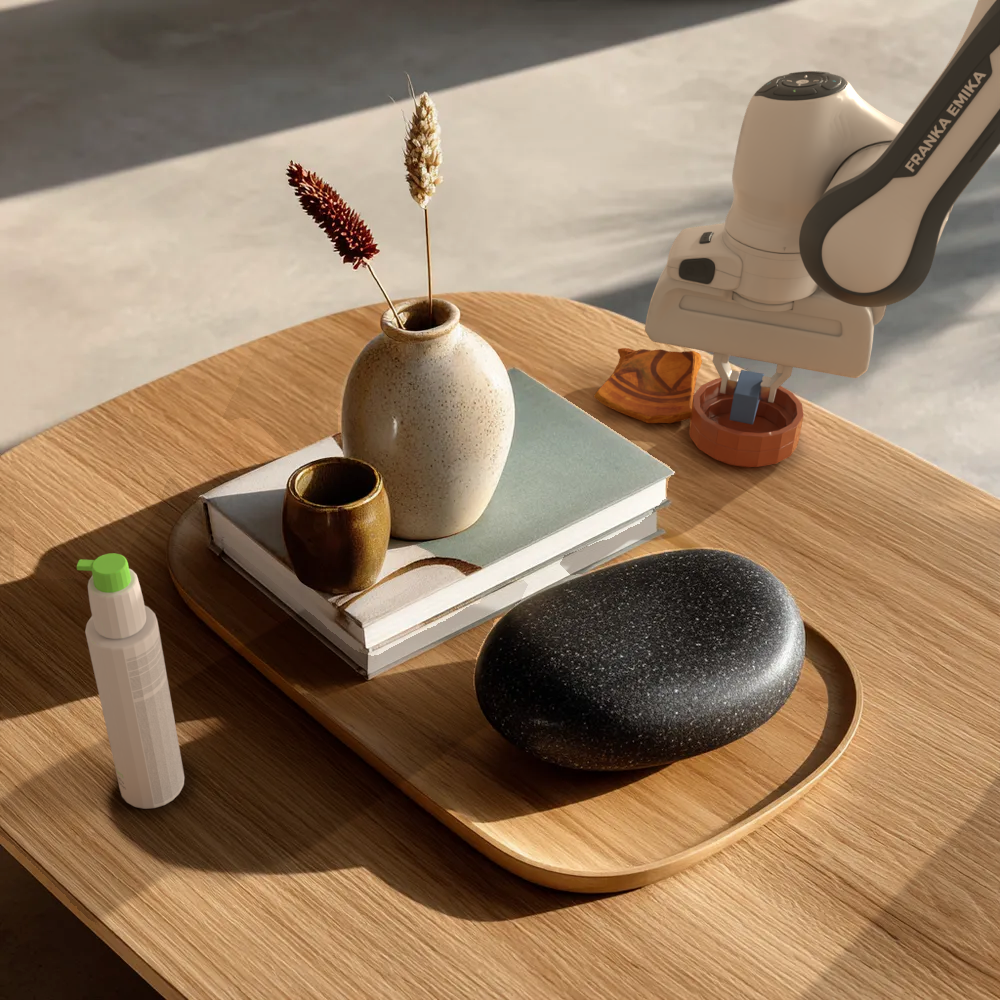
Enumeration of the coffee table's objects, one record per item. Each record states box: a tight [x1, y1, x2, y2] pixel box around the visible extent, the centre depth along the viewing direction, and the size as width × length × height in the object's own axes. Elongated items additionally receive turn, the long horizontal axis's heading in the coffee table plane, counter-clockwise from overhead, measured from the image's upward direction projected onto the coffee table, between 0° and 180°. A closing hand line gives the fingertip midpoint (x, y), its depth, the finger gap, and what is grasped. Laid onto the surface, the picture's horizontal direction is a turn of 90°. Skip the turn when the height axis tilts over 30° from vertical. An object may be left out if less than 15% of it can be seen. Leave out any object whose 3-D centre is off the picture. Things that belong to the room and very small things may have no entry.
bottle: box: [76, 552, 185, 810], centre depth 86 cm, size 4×4×20 cm
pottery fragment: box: [593, 347, 703, 424], centre depth 132 cm, size 10×5×10 cm
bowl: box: [688, 377, 805, 468], centre depth 126 cm, size 10×10×4 cm
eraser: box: [730, 369, 765, 424], centre depth 124 cm, size 4×2×3 cm, turn 163°
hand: (747, 394), depth 124 cm, fingers closed on eraser, 2 cm apart
